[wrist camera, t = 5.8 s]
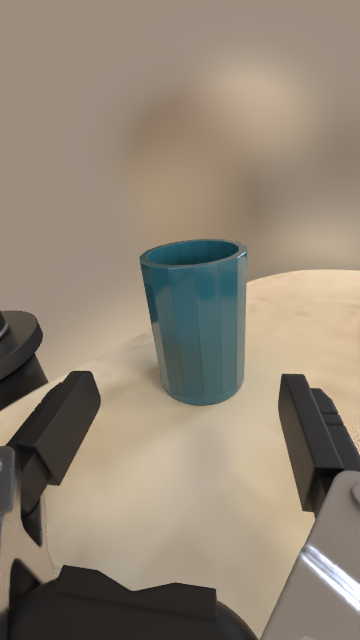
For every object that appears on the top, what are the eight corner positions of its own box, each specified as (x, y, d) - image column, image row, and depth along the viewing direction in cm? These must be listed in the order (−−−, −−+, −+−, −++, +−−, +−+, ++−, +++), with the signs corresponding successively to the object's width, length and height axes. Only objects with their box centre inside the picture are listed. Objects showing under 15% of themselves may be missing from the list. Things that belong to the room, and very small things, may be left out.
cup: (145, 385, 20) (117, 262, 15) (190, 342, 24) (180, 237, 20) (219, 420, 16) (213, 273, 12) (256, 363, 21) (263, 240, 16)
